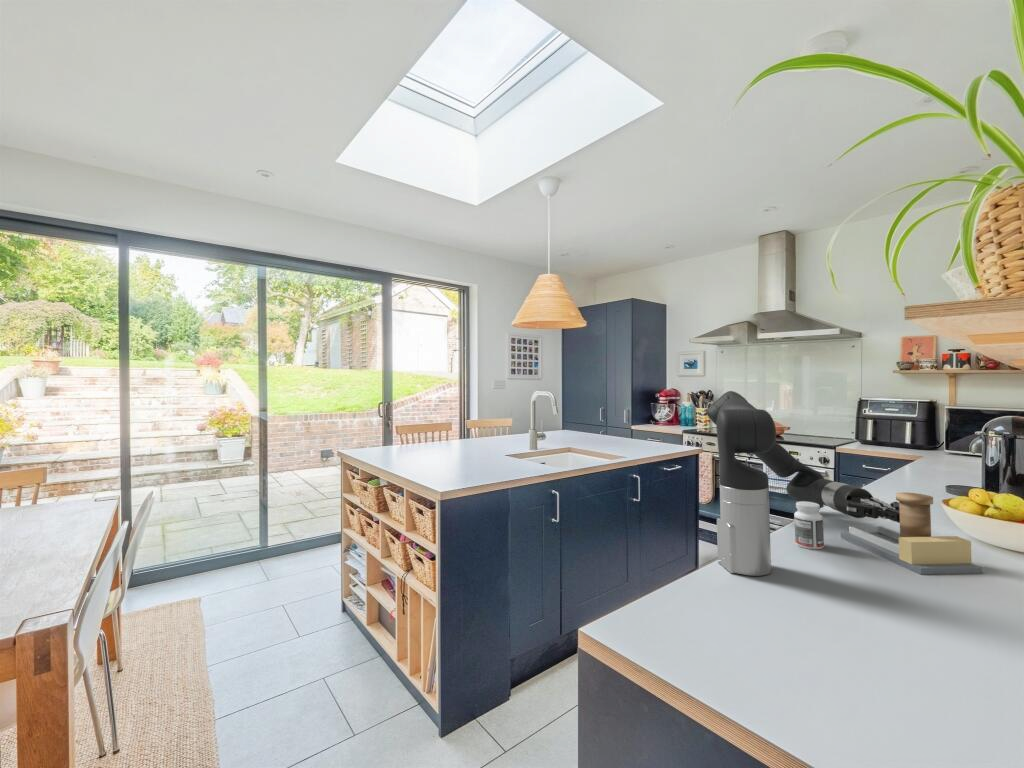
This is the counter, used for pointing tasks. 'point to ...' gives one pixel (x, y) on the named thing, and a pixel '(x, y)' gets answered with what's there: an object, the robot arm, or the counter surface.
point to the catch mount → (918, 551)
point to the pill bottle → (808, 525)
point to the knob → (914, 514)
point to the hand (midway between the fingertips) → (904, 518)
